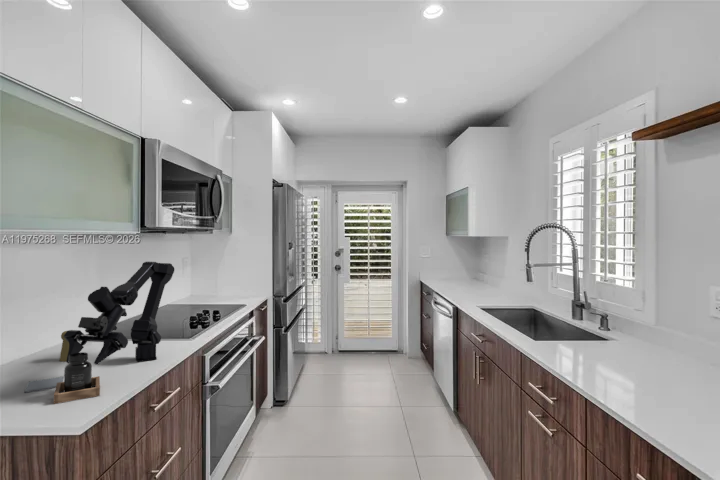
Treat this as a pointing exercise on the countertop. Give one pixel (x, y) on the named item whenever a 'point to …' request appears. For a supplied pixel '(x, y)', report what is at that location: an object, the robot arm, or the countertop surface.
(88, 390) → the walnut holder
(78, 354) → the supplement bottle
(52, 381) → the slate mat
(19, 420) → the countertop surface
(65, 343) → the cork
